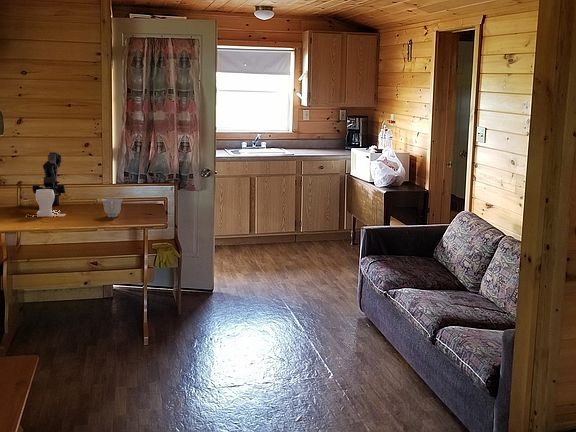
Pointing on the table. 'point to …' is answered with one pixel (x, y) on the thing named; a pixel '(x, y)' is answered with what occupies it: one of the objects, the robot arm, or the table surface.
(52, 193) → the white vase
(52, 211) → the t mat
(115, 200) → the teacup
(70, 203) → the table surface
